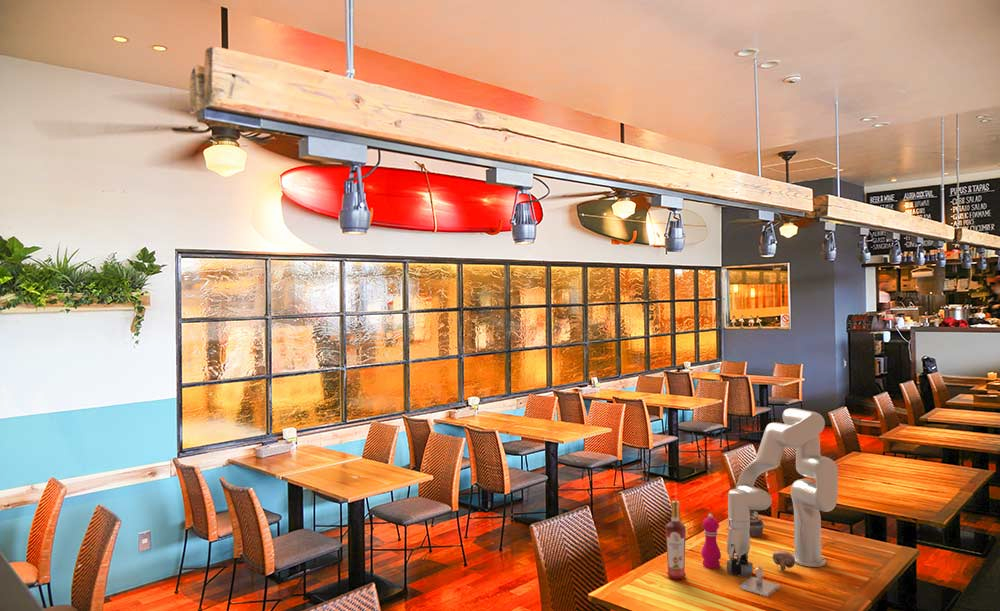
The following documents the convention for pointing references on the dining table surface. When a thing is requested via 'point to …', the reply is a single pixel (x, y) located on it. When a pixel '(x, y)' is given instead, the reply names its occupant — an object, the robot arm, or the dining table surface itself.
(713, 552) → the pepper mill
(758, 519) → the cupcake
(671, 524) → the liquor
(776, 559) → the mushroom
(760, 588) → the keeper
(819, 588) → the dining table surface
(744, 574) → the grey rectangular frame
